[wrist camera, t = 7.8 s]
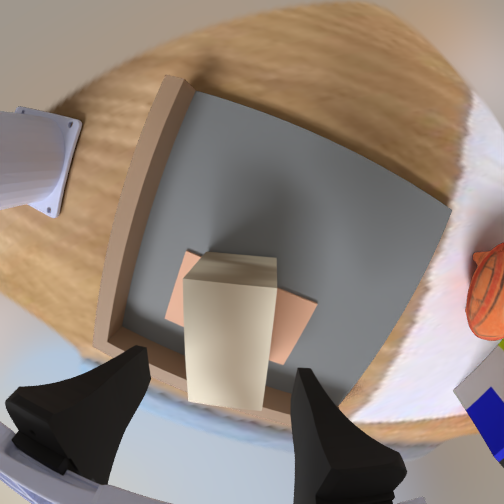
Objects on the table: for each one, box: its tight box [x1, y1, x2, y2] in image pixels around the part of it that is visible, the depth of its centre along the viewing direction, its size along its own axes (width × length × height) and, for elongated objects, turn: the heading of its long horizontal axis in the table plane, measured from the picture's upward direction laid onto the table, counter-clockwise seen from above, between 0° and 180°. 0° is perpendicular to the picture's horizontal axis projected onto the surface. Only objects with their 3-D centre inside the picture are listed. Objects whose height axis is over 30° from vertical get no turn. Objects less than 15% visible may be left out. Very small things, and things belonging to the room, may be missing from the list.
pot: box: [465, 243, 504, 341], centre depth 15 cm, size 8×8×7 cm
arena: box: [93, 75, 452, 426], centre depth 18 cm, size 20×19×3 cm
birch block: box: [183, 252, 277, 411], centre depth 17 cm, size 4×8×5 cm, turn 176°
